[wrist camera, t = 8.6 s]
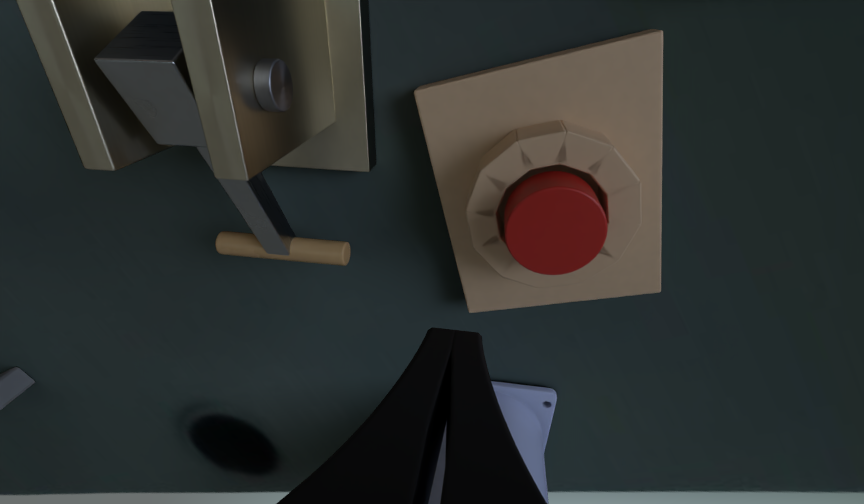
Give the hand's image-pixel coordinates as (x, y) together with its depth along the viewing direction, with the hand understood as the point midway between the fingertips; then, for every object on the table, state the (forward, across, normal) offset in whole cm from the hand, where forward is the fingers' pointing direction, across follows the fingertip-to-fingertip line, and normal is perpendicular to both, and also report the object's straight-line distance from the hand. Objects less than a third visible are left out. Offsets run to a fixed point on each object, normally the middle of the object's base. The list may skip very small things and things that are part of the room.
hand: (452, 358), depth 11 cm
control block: (+10, -3, -1) cm, 11 cm away
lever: (+6, +8, -3) cm, 11 cm away
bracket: (+10, +8, -6) cm, 14 cm away
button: (+7, -3, -1) cm, 8 cm away
